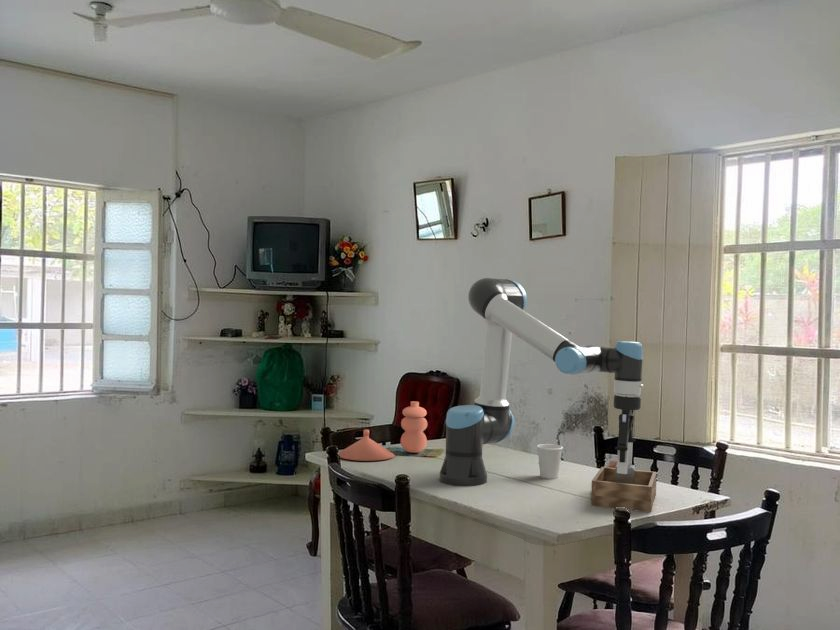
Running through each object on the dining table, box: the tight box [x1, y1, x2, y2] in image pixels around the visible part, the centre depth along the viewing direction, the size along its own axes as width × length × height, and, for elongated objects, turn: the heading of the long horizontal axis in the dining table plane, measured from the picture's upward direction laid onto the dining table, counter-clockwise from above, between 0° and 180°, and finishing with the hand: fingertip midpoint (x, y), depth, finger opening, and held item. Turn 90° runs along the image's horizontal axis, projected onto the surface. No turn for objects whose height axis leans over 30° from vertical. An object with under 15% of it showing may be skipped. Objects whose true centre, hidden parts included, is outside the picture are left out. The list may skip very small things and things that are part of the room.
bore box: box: [590, 466, 658, 513], centre depth 214 cm, size 16×21×7 cm
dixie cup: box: [536, 443, 564, 480], centre depth 243 cm, size 8×8×10 cm
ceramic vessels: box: [338, 400, 428, 462], centre depth 276 cm, size 35×21×19 cm, turn 117°
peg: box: [615, 464, 636, 484], centre depth 214 cm, size 5×5×10 cm
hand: (624, 468), depth 215 cm, fingers open, 13 cm apart
